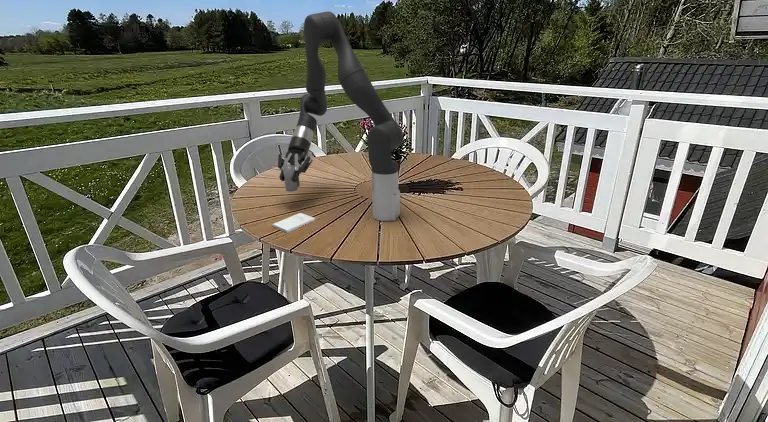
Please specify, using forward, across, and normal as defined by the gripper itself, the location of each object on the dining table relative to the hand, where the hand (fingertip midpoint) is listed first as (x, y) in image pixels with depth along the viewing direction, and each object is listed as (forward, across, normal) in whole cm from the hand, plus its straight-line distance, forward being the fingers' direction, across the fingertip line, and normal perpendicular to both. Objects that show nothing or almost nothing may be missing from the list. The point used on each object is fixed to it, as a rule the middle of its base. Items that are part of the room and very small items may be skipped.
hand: (287, 180), depth 144 cm
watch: (-9, -14, +25) cm, 30 cm away
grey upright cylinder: (+2, 0, +4) cm, 5 cm away
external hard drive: (+16, +7, +2) cm, 18 cm away
